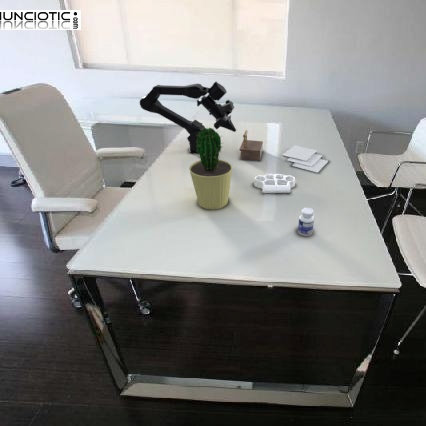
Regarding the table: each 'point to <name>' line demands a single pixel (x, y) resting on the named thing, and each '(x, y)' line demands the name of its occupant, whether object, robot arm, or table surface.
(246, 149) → the lid
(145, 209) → the table surface
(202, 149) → the potted cactus
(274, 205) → the table surface
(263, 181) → the white brass knuckles
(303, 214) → the pill bottle
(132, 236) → the table surface
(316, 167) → the paper stack
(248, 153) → the box
